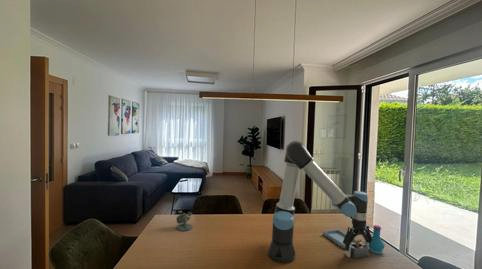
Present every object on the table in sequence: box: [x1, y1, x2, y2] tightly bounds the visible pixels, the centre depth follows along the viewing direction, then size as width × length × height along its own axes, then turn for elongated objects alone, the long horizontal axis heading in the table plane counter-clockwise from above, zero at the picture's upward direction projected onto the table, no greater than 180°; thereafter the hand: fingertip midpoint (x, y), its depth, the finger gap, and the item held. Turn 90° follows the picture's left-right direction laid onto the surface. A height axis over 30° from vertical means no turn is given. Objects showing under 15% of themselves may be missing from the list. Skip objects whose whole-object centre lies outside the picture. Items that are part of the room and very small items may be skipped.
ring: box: [350, 242, 369, 259], centre depth 142 cm, size 10×8×6 cm
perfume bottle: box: [368, 224, 385, 254], centre depth 147 cm, size 9×9×15 cm
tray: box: [322, 228, 357, 250], centre depth 159 cm, size 13×20×2 cm, turn 20°
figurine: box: [175, 210, 193, 232], centre depth 167 cm, size 11×11×12 cm
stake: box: [355, 239, 363, 247], centre depth 142 cm, size 4×2×9 cm, turn 110°
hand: (357, 254), depth 142 cm, fingers open, 13 cm apart
